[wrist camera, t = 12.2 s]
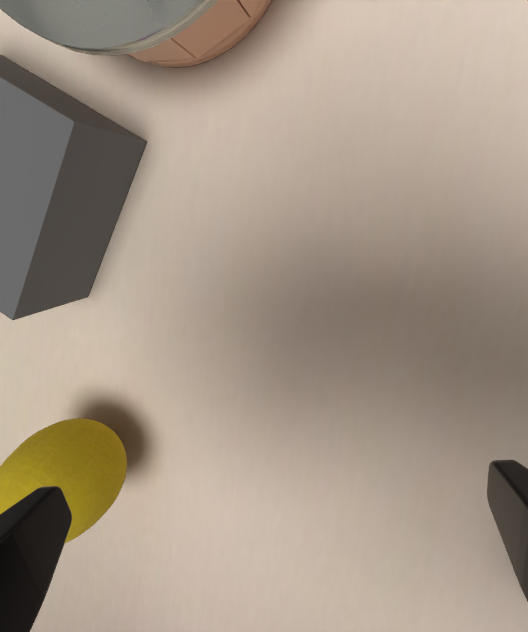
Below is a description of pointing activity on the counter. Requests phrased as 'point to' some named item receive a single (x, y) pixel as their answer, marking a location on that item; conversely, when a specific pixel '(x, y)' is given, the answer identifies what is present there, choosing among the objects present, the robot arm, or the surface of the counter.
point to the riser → (55, 191)
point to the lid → (106, 22)
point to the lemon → (68, 469)
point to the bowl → (207, 34)
